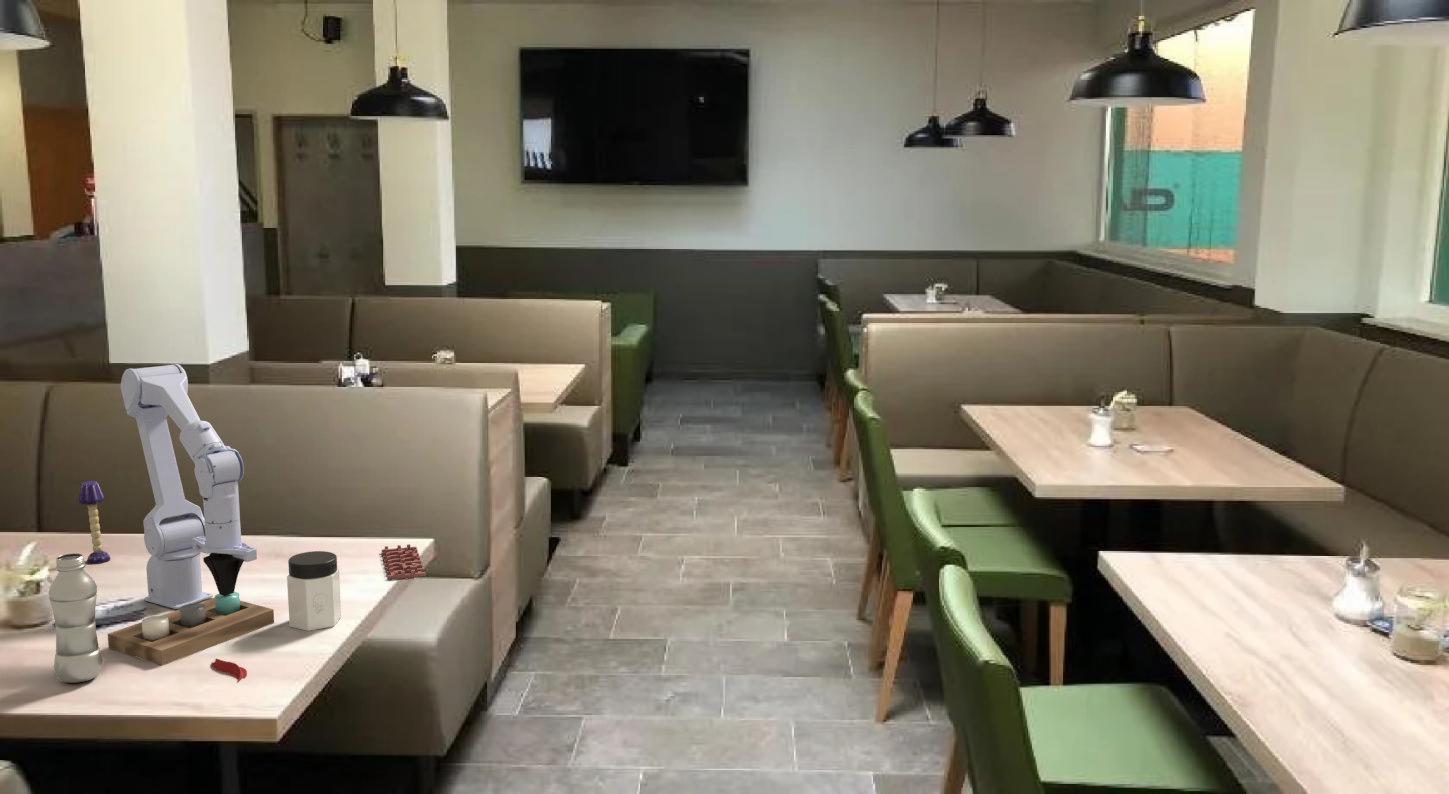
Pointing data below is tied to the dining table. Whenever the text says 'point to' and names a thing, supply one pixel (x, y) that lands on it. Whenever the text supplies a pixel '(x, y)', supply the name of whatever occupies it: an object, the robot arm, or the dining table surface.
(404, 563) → the brown woven panel
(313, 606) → the jar
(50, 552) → the dining table surface
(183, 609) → the graphite key
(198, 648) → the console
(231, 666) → the cayenne pepper
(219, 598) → the teal rounded piece
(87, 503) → the toy lamp
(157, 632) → the ivory key
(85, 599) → the plastic bottle
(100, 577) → the dining table surface
